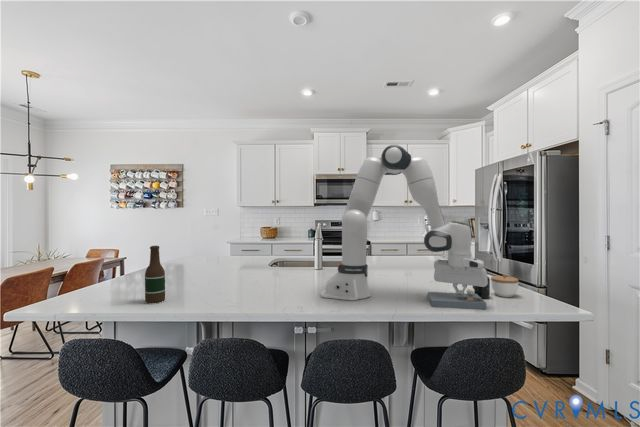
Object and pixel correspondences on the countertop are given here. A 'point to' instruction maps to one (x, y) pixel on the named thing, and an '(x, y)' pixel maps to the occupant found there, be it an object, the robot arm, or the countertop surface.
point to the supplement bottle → (483, 290)
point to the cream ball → (470, 291)
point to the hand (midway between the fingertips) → (460, 294)
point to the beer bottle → (154, 278)
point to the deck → (455, 300)
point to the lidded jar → (504, 285)
